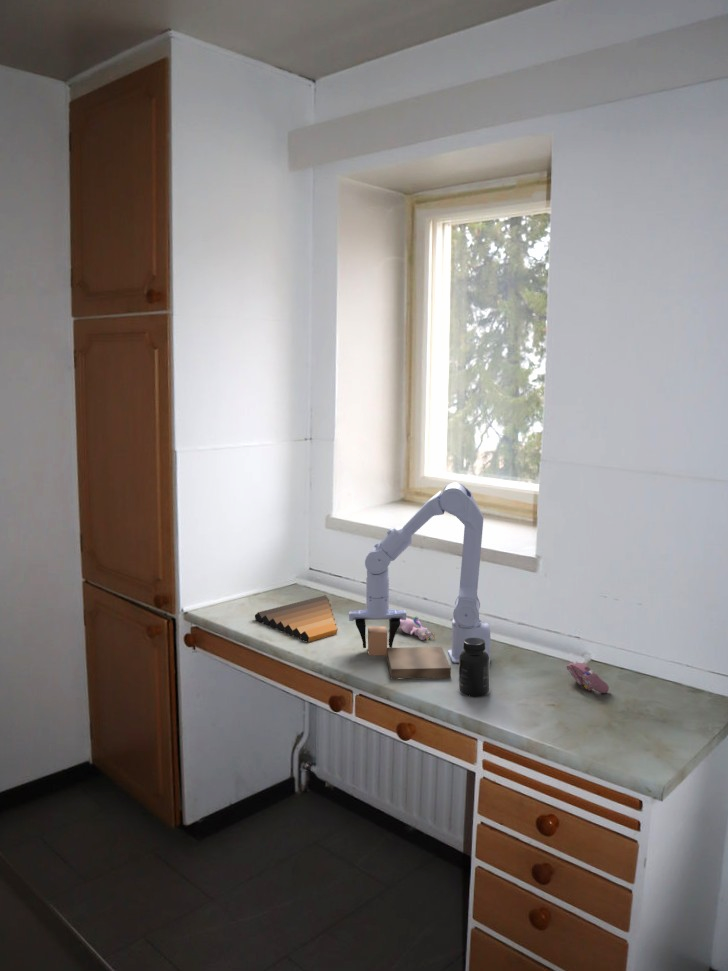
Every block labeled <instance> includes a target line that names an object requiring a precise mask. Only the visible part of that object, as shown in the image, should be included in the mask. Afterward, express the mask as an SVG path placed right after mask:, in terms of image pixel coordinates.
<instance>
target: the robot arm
mask: <svg viewBox="0 0 728 971" xmlns="http://www.w3.org/2000/svg"><path fill="white" fill-rule="evenodd" d="M443 488H444V489H443V490H439V491H438V492H436V493H435V494H434V495H433V496H432V497H431V498H429V499H428V500H427V501H426V502H425V503H424V504H423V505H422V506H421V507H420V508H419V509H418V511H416V513H414V515H413V516H412V517H411V518H410V519H409V520H408V521H407V522H406V523H405V524H404V525H403V526H394V528H393V529H392V528H390V529H389V530H387V532H386V534H387V535H385V537H384V538H382V540H380V541H379V543H378V542H376V543H375V544H374V546H373V547H374V548H372V549H371V550H370V551H369V553H368V554H367V556H366V557H365V560H364V566H365V568H366V579H365V580H366V582H365V583H366V586H365V587H366V590H365V591H366V599H365V600H366V602H365V603H366V606H365V607H366V608H365V609H360V610H350V611H348V620H349V621H350V622H354V621H355V622H354V623H355V626H356V628H357V629H358V632H359V635H360V638H361V640H362V648H363V649H366V648H367V640H366V631H367V630H366V626H367V625H366V620H367V621H368V620H371V621H372V620H374V621H375V620H388V622H389V626H388V628H389V632H388V648H393V645H394V644H393V643H394V640H395V637H396V634H397V632H398V630H399V628H400V627H401V626H400V619H402V620H406V618H407V610H406V609H405V610H404V609H401V610H399V609H390V588H389V587H390V577H389V565H390V564H391V562H394V561H395V560H396V559H397V558H398V557H399V556H401V554H402V553H403V552H404V551H406V549H407V548H408V547H409V546H411V545H412V542H413V541H412V536H413V535H414V534H415V533H416V532H418V530H420V529H421V528H422V527H423V526H424V525H425V524H426V523H427V522H428V521H430V520H431V519H432V518H433V517H435V516H442V515H444V514H445V512H446V513H448V514H450V515H452V516H454V517H456V518H457V519H458V520H459V521H460V522H461V523H462V524H463V526H464V530H463V539H462V540H463V545H462V552H461V553H462V554H461V567H460V577H459V578H460V579H459V589H458V596H457V597H456V599H455V603H454V609H453V613H452V614H453V619H452V620H451V621H452V622H451V623H452V624H451V649H448V650H447V653H448V654H449V658H450V659H451V662H452V663H455V664H456V663H458V664H459V655H460V653H461V652H462V651H464V649H463V646H464V640H465V639H467V638H480V639H483V640H484V641H485V651H486V652H487V653H488V655H489V658H490V659H491V628H490V624H489V623H488V622H482V620H481V619H480V608H481V602H480V599H479V596H478V588H479V587H478V586H479V575H480V566H481V565H480V564H481V553H482V541H483V528H484V515H483V512H482V511H481V509H480V507H479V505H478V504H477V501H476V499H475V498H474V496H473V494H472V492H471V491H470V490H469V489H468V488H467V487H466V486H465V485H464V484H462V483H461V482H456V481H455V482H451V483H448V484H446V485H445V486H444V487H443Z"/></svg>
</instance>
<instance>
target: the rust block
mask: <svg viewBox="0 0 728 971" xmlns="http://www.w3.org/2000/svg"><path fill="white" fill-rule="evenodd" d="M387 648H388V630H387V626H368V627H367V652H368V656H387Z"/></svg>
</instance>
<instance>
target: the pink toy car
mask: <svg viewBox="0 0 728 971" xmlns="http://www.w3.org/2000/svg"><path fill="white" fill-rule="evenodd" d="M566 669H567V674H568V675H569V676H572V678H574V680H575V682H576V683H577V684H578V685H579V686H583V687H584V688H585V689H586V690H587V691H591V690H595V691H596V692H598V693H600V694H607V693H609V690H610V687H609V684H608V683H606V682H605V681H604V680H602V679H601V677H599V675H598V674H597V673H596V672H595V671H594V670H593V669H591V668H590V666H589V665H588V664H586V663H583V662H578V661H577V660H575V661H572V662H570V663H569V664H567V665H566Z"/></svg>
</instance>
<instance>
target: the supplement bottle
mask: <svg viewBox="0 0 728 971" xmlns="http://www.w3.org/2000/svg"><path fill="white" fill-rule="evenodd" d="M463 649H464V651H462V652H461V653H460V655H459V663H458V690H459V692H460V693H461V694H462V695H463V696H466V697H469V698H470V697H471V698H477V697H478V698H480V697H484V696H486V695H488V693H489V692H490V666H491V665H490V662H491V657H490V658H489V655H488V653H487V652H486V651H485V641H484V640H483V639H480V638H467V639H465V640H464V646H463Z"/></svg>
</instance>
